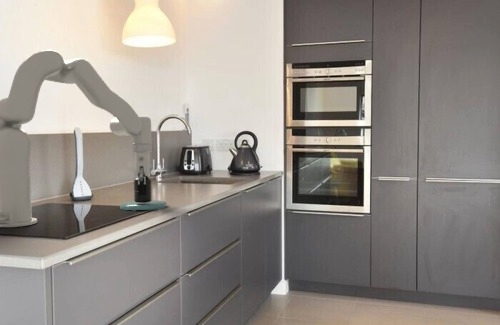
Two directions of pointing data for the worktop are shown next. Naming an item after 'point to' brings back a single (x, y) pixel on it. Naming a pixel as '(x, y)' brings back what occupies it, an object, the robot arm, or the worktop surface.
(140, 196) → the supplement bottle
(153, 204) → the dish
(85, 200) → the worktop surface
